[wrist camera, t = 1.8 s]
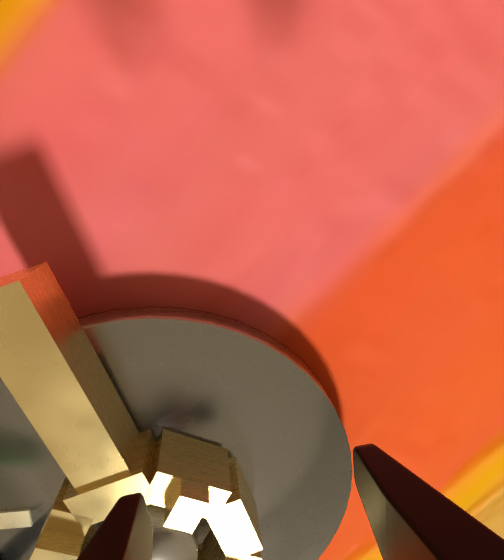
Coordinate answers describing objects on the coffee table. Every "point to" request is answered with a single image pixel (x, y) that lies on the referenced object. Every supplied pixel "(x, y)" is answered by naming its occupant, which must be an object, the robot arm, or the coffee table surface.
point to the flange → (199, 429)
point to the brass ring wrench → (108, 435)
